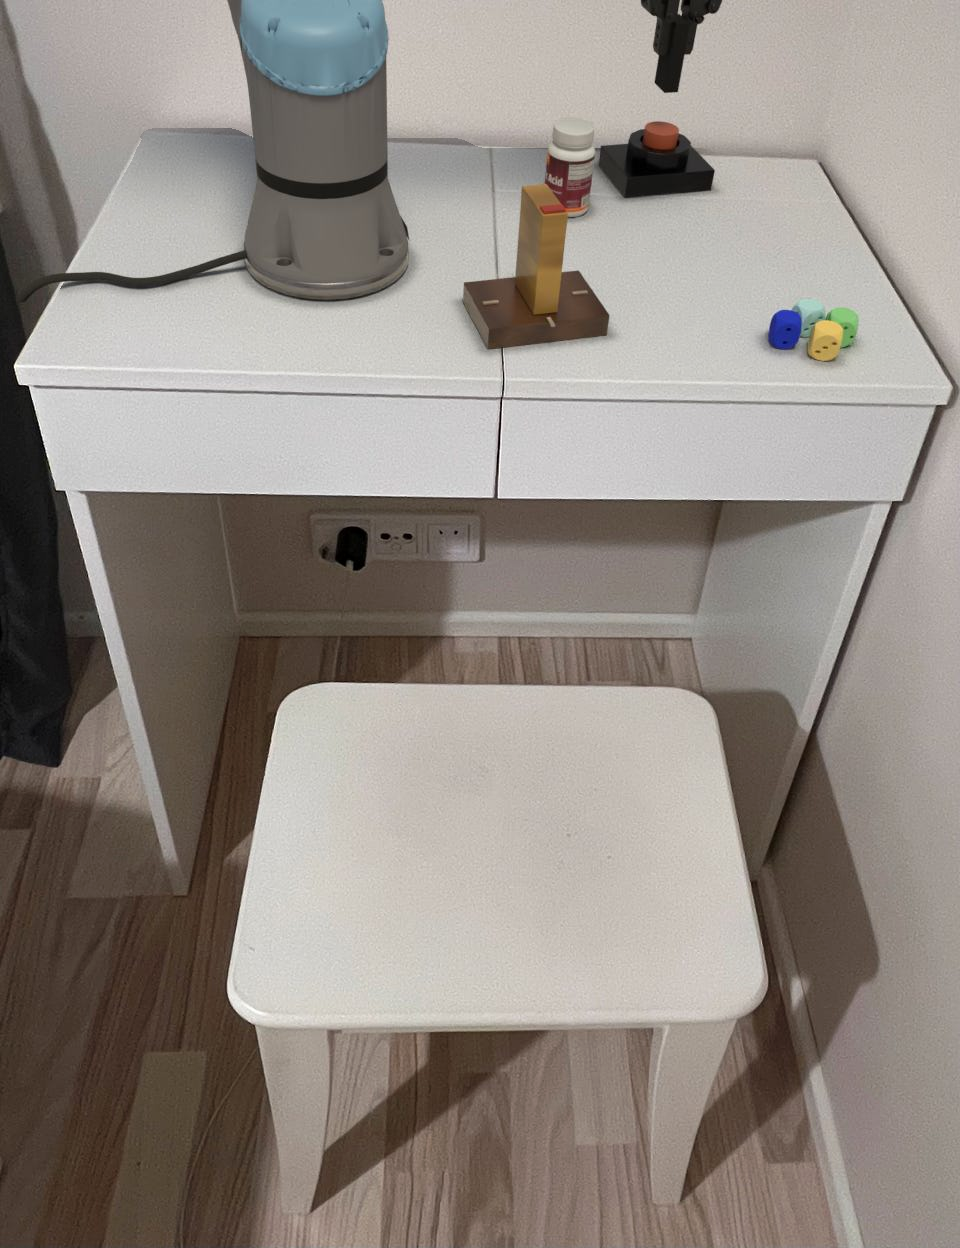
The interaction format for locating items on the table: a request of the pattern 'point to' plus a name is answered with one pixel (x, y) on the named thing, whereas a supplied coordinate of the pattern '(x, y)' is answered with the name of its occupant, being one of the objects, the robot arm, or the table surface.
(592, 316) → the lock plate
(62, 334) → the table surface
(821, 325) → the dice
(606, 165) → the button box
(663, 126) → the bell button
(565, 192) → the pill bottle
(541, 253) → the thumb turn
